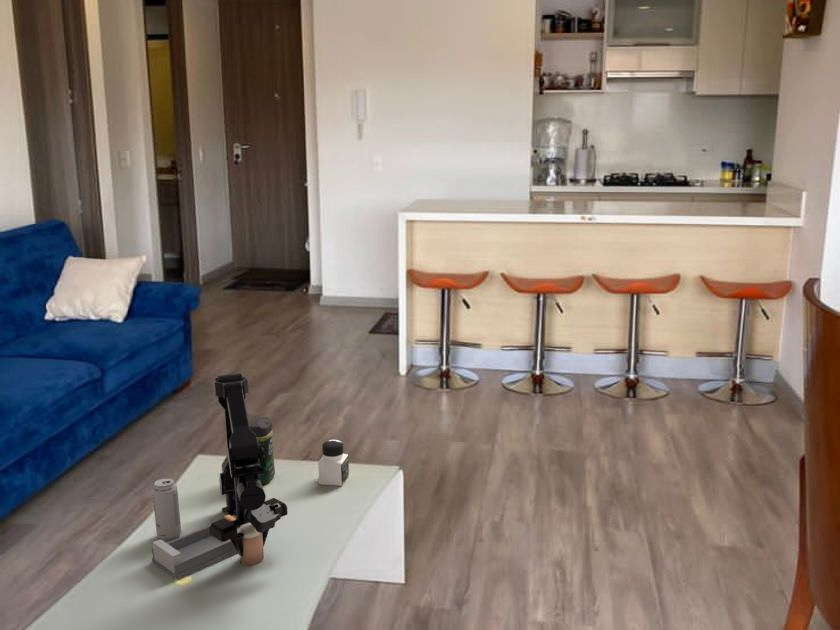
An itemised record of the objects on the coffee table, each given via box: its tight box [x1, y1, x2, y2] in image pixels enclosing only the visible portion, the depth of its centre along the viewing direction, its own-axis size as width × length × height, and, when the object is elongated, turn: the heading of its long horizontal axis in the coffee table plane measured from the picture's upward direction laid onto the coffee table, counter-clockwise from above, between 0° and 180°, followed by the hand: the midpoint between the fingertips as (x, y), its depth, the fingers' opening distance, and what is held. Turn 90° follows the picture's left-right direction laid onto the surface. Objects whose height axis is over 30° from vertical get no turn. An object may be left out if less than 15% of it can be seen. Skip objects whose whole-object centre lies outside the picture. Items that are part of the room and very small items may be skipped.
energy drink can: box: [152, 477, 182, 542], centre depth 202 cm, size 6×6×15 cm
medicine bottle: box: [317, 439, 350, 487], centre depth 233 cm, size 7×7×12 cm
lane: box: [151, 515, 238, 580], centre depth 196 cm, size 12×24×6 cm, turn 136°
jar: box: [239, 523, 265, 566], centre depth 192 cm, size 6×6×8 cm
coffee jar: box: [248, 416, 276, 485], centre depth 234 cm, size 10×8×19 cm
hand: (251, 551), depth 192 cm, fingers closed on jar, 6 cm apart
